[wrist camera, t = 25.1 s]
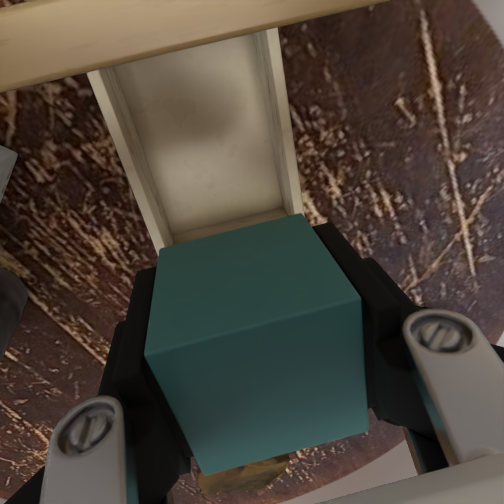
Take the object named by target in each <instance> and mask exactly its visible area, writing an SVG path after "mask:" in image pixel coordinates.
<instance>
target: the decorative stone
mask: <svg viewBox="0 0 504 504" xmlns="http://www.w3.org/2000/svg"><path fill="white" fill-rule="evenodd" d="M289 461H290V458H289V455H288V453H286V454H282V455H279V456H275V457H272V458H268V459H264V460H261V461H257V462H253V463H250V464H246V465H242V466H239V467H235V468H232V469H228V470H224V471H221V472H217V473H213V474H210V475H203V473H202V471H201V469H200V467H199V465H198V477H197V481H198V482H197V484H198V485H199V488H200V493H228V492H235V491H241V492H244V491H249V490H255V489H261V488H264V487H266V486H267V485H268V484H269V483H271V482H273V481H274V480H276V479H277V478H279V477H281V476H282V475H283V474H284V472H285V470H286V468H287V467H288V463H289Z"/></svg>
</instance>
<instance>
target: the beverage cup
mask: <svg viewBox="0 0 504 504" xmlns="http://www.w3.org/2000/svg"><path fill="white" fill-rule="evenodd" d="M27 298H28V293H27V290H26V287H25V285H24V284H23V282H22V281H21V280H20V279H19V278H18V277H17V276H16V275H14V274H13V273H11V272H9V271H7V270H5V269H3V268H0V362H1V360H2V358H3V356H4V354H5V351H6V349H7V347H8V345H9V343H10V341H11V338H12V336H13V334H14V332H15V330H16V327H17V325H18V323H19V321H20V319H21V316H22V312H23V309H24V306H25V305H26V303H27Z"/></svg>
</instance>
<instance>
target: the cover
mask: <svg viewBox="0 0 504 504" xmlns="http://www.w3.org/2000/svg"><path fill="white" fill-rule="evenodd" d="M24 1H25V2H24V3H19V4H15V5H10V6H6V7H2V8H0V93H2V92H7V91H11V90H15V89H19V88H24V87H28V86H32V85H36V84H41V83H45V82H49V81H53V80H57V79H62V78H66V77H70V76H74V75H79V74H83V73H87V72H91V71H96V70H100V69H104V68H108V67H112V66H117V65H121V64H125V63H129V62H134V61H138V60H142V59H146V58H150V57H155V56H159V55H163V54H167V53H172V52H176V51H180V50H184V49H189V48H193V47H197V46H201V45H205V44H210V43H214V42H218V41H222V40H227V39H231V38H235V37H239V36H244V35H248V34H252V33H256V32H260V31H265V30H269V29H273V28H277V27H282V26H286V25H290V24H294V23H298V22H303V21H307V20H311V19H315V18H320V17H324V16H328V15H332V14H337V13H341V12H345V11H349V10H353V9H358V8H362V7H366V6H370V5H375V4H379V3H383V2H387V1H392V0H24Z"/></svg>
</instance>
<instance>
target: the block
mask: <svg viewBox="0 0 504 504" xmlns="http://www.w3.org/2000/svg"><path fill="white" fill-rule="evenodd" d="M144 356H145V358H146V360H147V362H148V364H149V366H150V368H151V370H152V372H153V374H154V376H155V378H156V380H157V382H158V384H159V386H160V388H161V390H162V392H163V394H164V396H165V398H166V400H167V403H168V405H169V407H170V409H171V411H172V413H173V415H174V417H175V419H176V421H177V423H178V425H179V427H180V429H181V431H182V433H183V435H184V437H185V439H186V441H187V443H188V445H189V447H190V449H191V451H192V453H193V455H194V457H195V459H196V461H197V463H198V465H199V467H200V469H201V471H202V473H203V475H210V474H213V473H217V472H221V471H224V470H228V469H232V468H235V467H239V466H242V465H246V464H250V463H253V462H257V461H261V460H264V459H268V458H272V457H275V456H279V455H282V454H286V453H290V452H293V451H297V450H301V449H304V448H308V447H312V446H315V445H319V444H322V443H326V442H330V441H333V440H337V439H341V438H344V437H348V436H352V435H355V434H359V433H362V432H366V431H368V430H369V415H368V400H367V384H366V369H365V353H364V338H363V321H362V305H361V297H360V296H359V294H358V293H357V291H356V290H355V289H354V287H353V286H352V284H351V283H350V281H349V280H348V279H347V277H346V276H345V274H344V273H343V271H342V270H341V269H340V267H339V266H338V264H337V263H336V261H335V260H334V259H333V257H332V256H331V254H330V253H329V251H328V250H327V249H326V247H325V246H324V244H323V243H322V241H321V240H320V239H319V237H318V236H317V234H316V233H315V231H314V230H313V228H312V227H311V226H310V224H309V223H308V221H307V220H306V218H305V217H304V216H303V214H302V213H298V214H294V215H290V216H286V217H282V218H278V219H274V220H270V221H266V222H262V223H258V224H254V225H251V226H247V227H243V228H239V229H235V230H231V231H227V232H223V233H219V234H215V235H211V236H207V237H203V238H199V239H195V240H191V241H187V242H184V243H180V244H176V245H172V246H168V247H164V248H161V249H159V256H158V262H157V269H156V276H155V283H154V289H153V296H152V303H151V310H150V317H149V323H148V330H147V337H146V344H145V351H144Z"/></svg>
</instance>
